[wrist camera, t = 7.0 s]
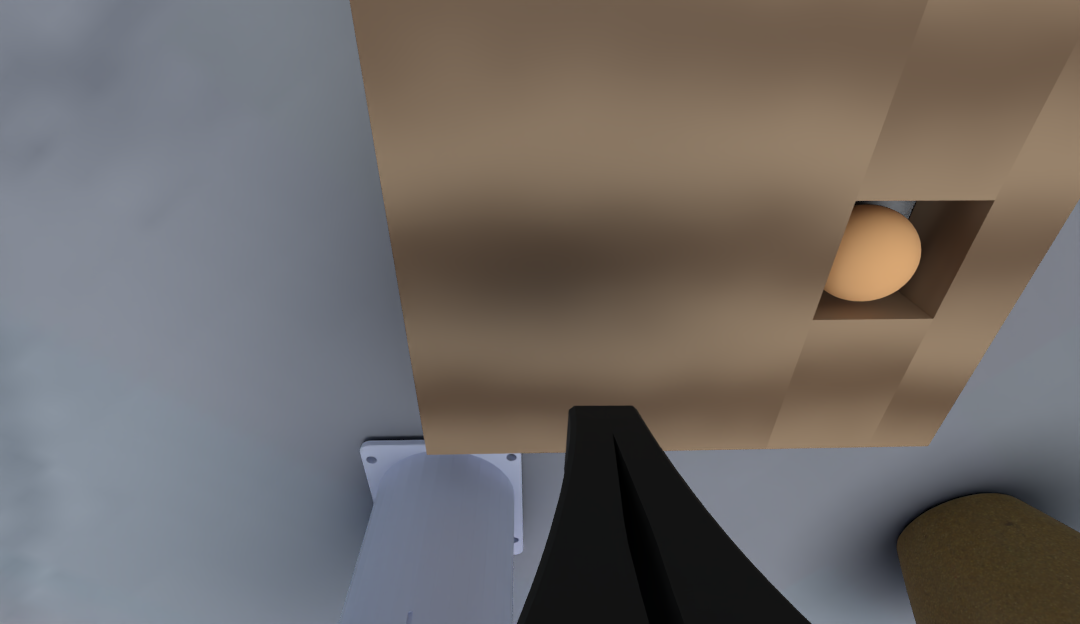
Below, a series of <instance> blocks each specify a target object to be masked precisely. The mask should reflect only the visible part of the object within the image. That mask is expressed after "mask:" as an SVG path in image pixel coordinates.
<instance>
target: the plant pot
mask: <svg viewBox="0 0 1080 624" xmlns="http://www.w3.org/2000/svg"><path fill="white" fill-rule="evenodd" d="M897 553H898V557H899V562H900V566H901V570H902V574H903V578H904V582H905V585H906V589H907V593H908V596H909V600H910V603H911V607H912V611H913V614H914V618H915V621H916V624H1080V533H1079V532H1077V531H1075V530H1074V529H1072V528H1070V527H1068V526H1067V525H1065V524H1063V523H1061V522H1059V521H1058V520H1056V519H1054V518H1052V517H1050V516H1049V515H1047V514H1045V513H1043V512H1041V511H1039V510H1038V509H1036V508H1034V507H1032V506H1030V505H1028V504H1026V503H1025V502H1023V501H1021V500H1019V499H1017V498H1015V497H1013V496H1009V495H1005V494H998V493H983V494H974V495H969V496H965V497H961V498H957V499H954V500H951V501H948V502H946V503H943V504H940V505H938V506H936V507H934V508H932V509H930V510H928V511H926V512H925V513H923V514H922V515H920V516H919V517H917V518H916V519H915V520H914V521H912V522H911V523H910V524H909V525H908V526H907V527H906V528H905V529H904V530H903V532H902V533H901V535H900V536H899V538H898V541H897Z"/></svg>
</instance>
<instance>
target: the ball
mask: <svg viewBox="0 0 1080 624" xmlns="http://www.w3.org/2000/svg"><path fill="white" fill-rule="evenodd" d="M920 258H921V242H920V238H919V235H918V233H917V231H916V229H915V228H914V226H913V225H912V223H911V222H910V221H909V220H908V219H907V218H906V217H904V216H903V215H902V214H900V213H898V212H897V211H895V210H892V209H890V208H887V207H884V206H879V205H870V204H864V205H855V206H854V207H853V210H852V212H851V215H850V218H849V221H848V224H847V226H846V229H845V232H844V235H843V237H842V240H841V243H840V246H839V248H838V251H837V254H836V257H835V259H834V262H833V265H832V268H831V271H830V273H829V276H828V279H827V282H826V284H825V287H824V290H825V291H826V292H827V293H829V294H831V295H833V296H835V297H838V298H840V299H844V300H849V301H871V300H876V299H880V298H883V297H886V296H888V295H890V294H892V293H894V292H895V291H897V290H899V289H900V288H901V287H902V286H904V285H905V284H906V283H907V282H908V281H909V280H910V278H911V277H912V276H913V274H914V273H915V271H916V269H917V267H918V265H919V262H920Z"/></svg>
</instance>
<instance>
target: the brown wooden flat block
mask: <svg viewBox="0 0 1080 624" xmlns="http://www.w3.org/2000/svg"><path fill="white" fill-rule="evenodd" d="M350 5H351V11H352V17H353V23H354V29H355V35H356V41H357V47H358V52H359V58H360V64H361V70H362V76H363V82H364V88H365V94H366V100H367V105H368V111H369V117H370V123H371V129H372V135H373V141H374V147H375V152H376V158H377V164H378V170H379V176H380V182H381V188H382V194H383V200H384V205H385V211H386V217H387V223H388V229H389V235H390V241H391V247H392V253H393V258H394V264H395V270H396V276H397V282H398V288H399V294H400V300H401V306H402V311H403V317H404V323H405V329H406V335H407V341H408V347H409V353H410V358H411V364H412V370H413V376H414V382H415V388H416V394H417V400H418V406H419V411H420V417H421V423H422V429H423V435H424V441H425V447H426V453H427V455H451V454H507V453H564V452H566V440H567V427H568V413H569V409H571V408H572V407H573V406H624V405H633V406H634V407H635V408H636V409H637V410H638V412H639V414H640V415H641V417H642V419H643V420H644V422H645V424H646V425H647V427H648V428H649V430H650V432H651V433H652V435H653V436H654V438H655V439H656V441H657V442H658V444H659V445H660V447H661V448H662V450H663V451H676V450H732V449H788V448H844V447H901V446H928V445H929V444H930V442H931V440H932V439H933V437H934V436H935V434H936V432H937V431H938V429H939V427H940V426H941V424H942V422H943V421H944V419H945V418H946V416H947V414H948V413H949V411H950V409H951V408H952V406H953V405H954V403H955V401H956V400H957V398H958V396H959V395H960V393H961V391H962V390H963V388H964V387H965V385H966V383H967V382H968V380H969V378H970V377H971V375H972V374H973V372H974V370H975V369H976V367H977V365H978V364H979V362H980V360H981V359H982V357H983V356H984V354H985V352H986V351H987V349H988V347H989V346H990V344H991V342H992V341H993V339H994V338H995V336H996V334H997V333H998V331H999V329H1000V328H1001V326H1002V325H1003V323H1004V321H1005V320H1006V318H1007V316H1008V315H1009V313H1010V311H1011V310H1012V308H1013V307H1014V305H1015V303H1016V302H1017V300H1018V298H1019V297H1020V295H1021V294H1022V292H1023V290H1024V289H1025V287H1026V285H1027V284H1028V282H1029V280H1030V279H1031V277H1032V276H1033V274H1034V272H1035V271H1036V269H1037V267H1038V266H1039V264H1040V262H1041V261H1042V259H1043V258H1044V256H1045V254H1046V253H1047V251H1048V249H1049V248H1050V246H1051V245H1052V243H1053V241H1054V240H1055V238H1056V236H1057V235H1058V233H1059V231H1060V230H1061V228H1062V227H1063V225H1064V223H1065V222H1066V220H1067V218H1068V217H1069V215H1070V214H1071V212H1072V210H1073V209H1074V207H1075V205H1076V204H1077V202H1078V200H1079V199H1080V0H350ZM855 201H917V202H916V204H915V207H914V209H913V211H912V214H911V216H910V218H909V221H910V222H911V223H912V225H913V226H914V228H915V229H916V231H917V233H918V235H919V238H920V242H921V258H920V262H919V265H918V267H917V269H916V271H915V273H914V274H913V276H912V277H911V278H910V280H909V281H908V282H907V283H906V284H905V285H904V286H902V287H901V288H900V289H899V290H897V291H895V292H894V293H892V294H890V295H888V296H886V297H883V298H880V299H876V300H871V301H849V300H844V299H840V298H838V297H835V296H833V295H831V294H829V293H827V292H826V291H825V290H824V287H825V284H826V282H827V279H828V276H829V273H830V271H831V268H832V265H833V262H834V259H835V257H836V254H837V251H838V248H839V246H840V243H841V240H842V237H843V235H844V232H845V229H846V226H847V224H848V221H849V218H850V215H851V212H852V210H853V207H854V204H855Z"/></svg>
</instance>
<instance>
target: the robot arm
mask: <svg viewBox="0 0 1080 624" xmlns="http://www.w3.org/2000/svg"><path fill="white" fill-rule="evenodd" d="M509 454H514V455H509ZM360 455H361V458H362V462H363V466H364V469H365V473H366V477H367V480H368V484H369V488H370V491H371V495H372V498H373V502H374V505H373V509H372V512H371V515H370V519H369V522H368V525H367V529H366V532H365V536H364V539H363V542H362V546H361V549H360V552H359V556H358V559H357V563H356V566H355V569H354V573H353V576H352V580H351V583H350V586H349V590H348V593H347V596H346V600H345V603H344V607H343V610H342V613H341V617H340V620H339V623H338V624H512V612H513V556H514V555H516V554H519V553H521V552H522V551H523V508H522V460H521V453H507V454H451V455H427V453H426V447H425V441H424V440H378V441H366V442H364V443H363V444H362V445H361V448H360ZM371 456H372V457H371ZM564 472H565V473H564V478H563V483H562V488H561V493H560V497H559V500H558V504H557V508H556V511H555V515H554V519H553V522H552V526H551V530H550V533H549V536H548V539H547V543H546V546H545V549H544V552H543V555H542V558H541V561H540V564H539V567H538V569H537V572H536V575H535V578H534V581H533V584H532V586H531V589H530V592H529V594H528V597H527V599H526V602H525V604H524V607H523V610H522V612H521V615H520V617H519V620H518V622H517V624H811V623H810V622H809V621H808V620H807V619H806V618H805V617H804V616H803V615H802V614H801V613H800V612H799V611H798V610H797V609H796V608H795V607H794V606H793V605H792V604H791V603H790V602H789V601H788V600H787V599H786V598H785V597H784V596H783V595H782V594H781V593H780V592H779V591H778V590H777V589H776V588H775V587H774V586H773V585H772V584H771V583H770V582H769V581H768V580H767V579H766V577H765V576H764V575H763V574H762V573H761V572H760V571H759V570H758V569H757V568H756V567H755V566H754V565H753V564H752V562H751V561H750V560H749V559H748V558H747V557H746V556H745V555H744V554H743V552H742V551H741V550H740V549H739V548H738V547H737V546H736V545H735V543H734V542H733V541H732V540H731V539H730V538H729V536H728V535H727V534H726V533H725V532H724V530H723V529H722V528H721V527H720V526H719V524H718V523H717V522H716V521H715V519H714V518H713V517H712V516H711V515H710V513H709V512H708V511H707V510H706V508H705V507H704V506H703V505H702V503H701V502H700V501H699V499H698V498H697V497H696V496H695V494H694V493H693V492H692V490H691V489H690V487H689V486H688V485H687V483H686V482H685V481H684V479H683V478H682V477H681V475H680V474H679V473H678V471H677V470H676V469H675V467H674V466H673V464H672V463H671V461H670V460H669V459H668V457H667V456H666V454H665V453H664V451H663V450H662V448H661V447H660V445H659V444H658V442H657V441H656V439H655V438H654V436H653V435H652V433H651V432H650V430H649V428H648V427H647V425H646V424H645V422H644V420H643V419H642V417H641V415H640V414H639V412H638V410H637V409H636V408H635V407H634V406H633V405H624V406H573V407H572V408H571V409H569V413H568V427H567V440H566V454H565V467H564Z"/></svg>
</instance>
